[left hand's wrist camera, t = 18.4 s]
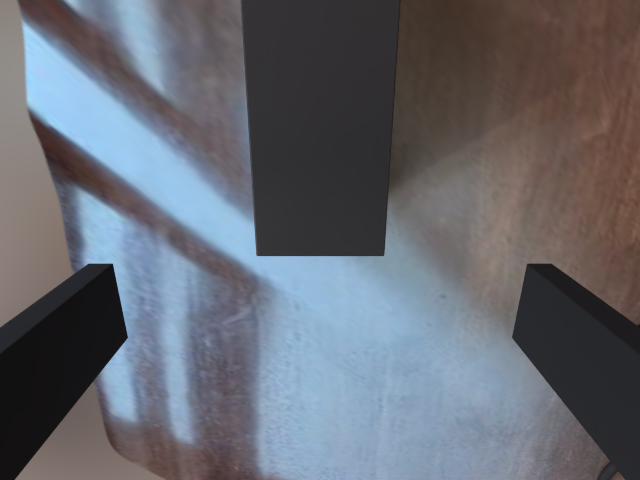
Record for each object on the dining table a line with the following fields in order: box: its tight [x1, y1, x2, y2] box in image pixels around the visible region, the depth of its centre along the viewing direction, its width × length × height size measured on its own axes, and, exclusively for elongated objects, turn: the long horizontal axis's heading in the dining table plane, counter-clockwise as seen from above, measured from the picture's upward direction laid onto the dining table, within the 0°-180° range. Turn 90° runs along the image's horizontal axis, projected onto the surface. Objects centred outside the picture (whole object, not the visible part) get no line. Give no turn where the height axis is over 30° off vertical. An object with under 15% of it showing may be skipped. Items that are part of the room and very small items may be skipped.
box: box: [241, 0, 400, 256], centre depth 26 cm, size 21×8×11 cm, turn 0°
